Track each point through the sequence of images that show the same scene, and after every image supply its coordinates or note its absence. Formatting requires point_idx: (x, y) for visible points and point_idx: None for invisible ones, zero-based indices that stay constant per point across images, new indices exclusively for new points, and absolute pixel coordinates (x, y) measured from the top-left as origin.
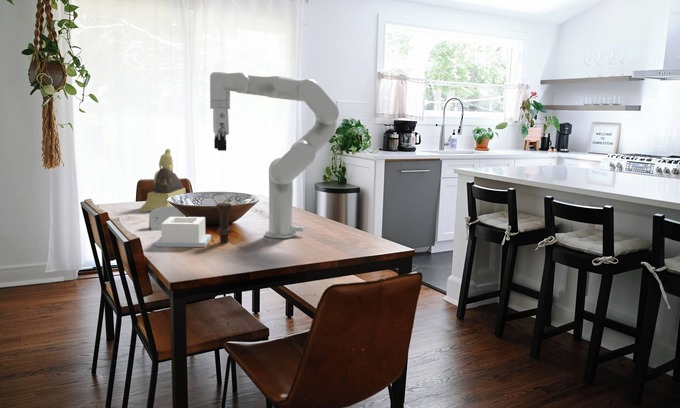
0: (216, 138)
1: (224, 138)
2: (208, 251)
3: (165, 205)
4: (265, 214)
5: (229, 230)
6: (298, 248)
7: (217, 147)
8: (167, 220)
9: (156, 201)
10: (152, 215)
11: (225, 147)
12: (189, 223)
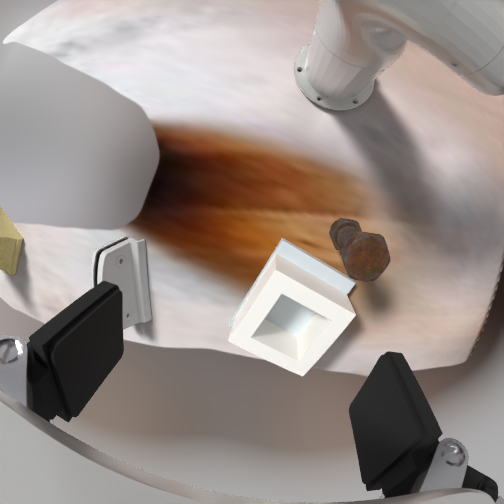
0: (57, 406)
1: (460, 464)
2: (387, 286)
3: (11, 240)
4: (96, 38)
5: (359, 225)
6: (451, 118)
7: (118, 339)
8: (273, 358)
9: (2, 254)
10: (124, 325)
11: (406, 377)
12: (335, 330)
